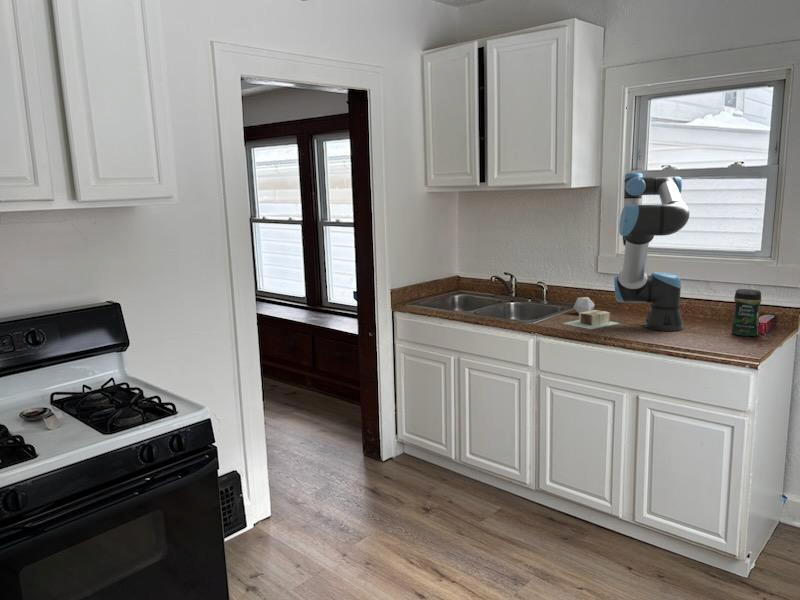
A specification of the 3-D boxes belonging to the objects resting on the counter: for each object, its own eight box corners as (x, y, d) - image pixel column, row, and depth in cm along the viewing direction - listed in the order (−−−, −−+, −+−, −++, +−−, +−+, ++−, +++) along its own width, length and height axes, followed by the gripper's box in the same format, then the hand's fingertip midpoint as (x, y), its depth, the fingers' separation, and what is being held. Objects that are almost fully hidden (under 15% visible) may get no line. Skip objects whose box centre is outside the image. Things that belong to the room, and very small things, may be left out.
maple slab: (593, 325, 285) (609, 322, 291) (593, 315, 285) (610, 312, 291) (578, 322, 292) (595, 319, 298) (579, 312, 291) (595, 309, 297)
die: (592, 318, 305) (600, 299, 308) (575, 309, 305) (583, 290, 307) (584, 321, 314) (592, 303, 316) (568, 312, 313) (575, 294, 316)
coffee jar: (729, 335, 264) (732, 289, 261) (733, 331, 271) (736, 287, 267) (756, 338, 259) (760, 291, 255) (760, 334, 265) (763, 288, 262)
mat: (619, 324, 289) (619, 323, 289) (590, 330, 279) (590, 329, 279) (590, 318, 302) (590, 317, 302) (562, 323, 292) (562, 323, 292)
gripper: (634, 207, 299) (632, 258, 303) (615, 208, 292) (614, 261, 296) (648, 207, 293) (646, 260, 297) (630, 208, 286) (628, 262, 290)
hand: (630, 260), depth 297 cm, fingers closed
